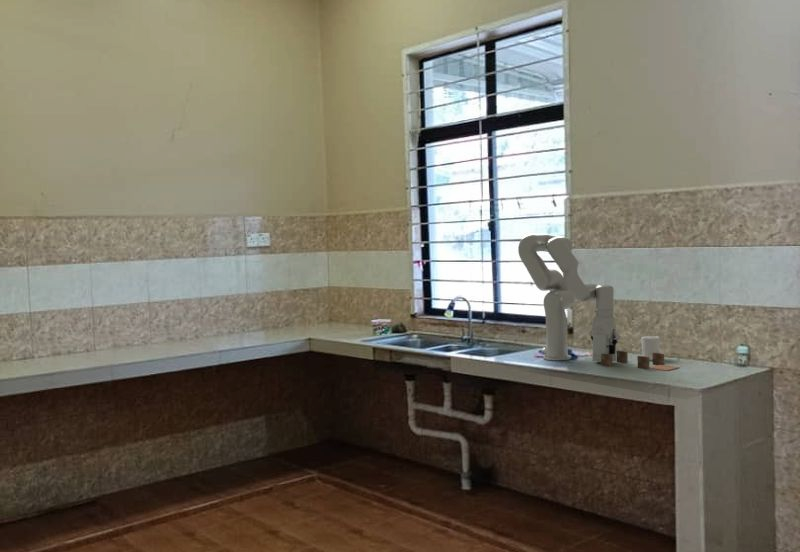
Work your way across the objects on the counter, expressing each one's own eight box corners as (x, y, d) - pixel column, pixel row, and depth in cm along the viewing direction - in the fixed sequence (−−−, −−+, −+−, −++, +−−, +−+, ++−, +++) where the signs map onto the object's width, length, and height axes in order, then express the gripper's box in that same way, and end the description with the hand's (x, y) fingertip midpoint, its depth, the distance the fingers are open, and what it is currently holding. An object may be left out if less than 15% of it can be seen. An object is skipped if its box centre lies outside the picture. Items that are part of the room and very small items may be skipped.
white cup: (662, 360, 337) (661, 338, 337) (644, 360, 338) (643, 338, 337) (657, 357, 345) (656, 335, 345) (639, 357, 346) (639, 336, 345)
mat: (647, 368, 320) (647, 367, 320) (660, 365, 326) (660, 364, 326) (666, 371, 313) (666, 370, 313) (679, 368, 319) (679, 367, 318)
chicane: (601, 365, 331) (601, 353, 331) (625, 359, 342) (625, 348, 341) (640, 370, 316) (640, 358, 315) (664, 365, 326) (664, 353, 325)
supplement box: (605, 363, 332) (605, 334, 331) (592, 361, 338) (592, 332, 337) (616, 361, 336) (616, 333, 335) (603, 359, 342) (603, 331, 341)
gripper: (583, 312, 340) (583, 351, 341) (615, 315, 326) (615, 356, 328) (594, 310, 345) (594, 349, 346) (626, 314, 331) (626, 354, 332)
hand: (604, 352), depth 337 cm, fingers closed on supplement box, 7 cm apart
